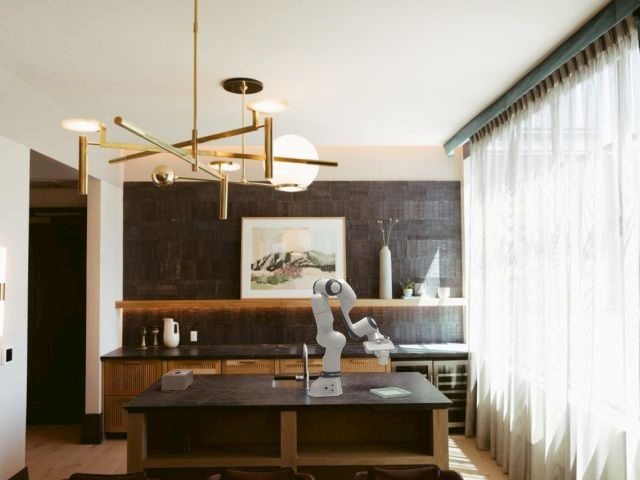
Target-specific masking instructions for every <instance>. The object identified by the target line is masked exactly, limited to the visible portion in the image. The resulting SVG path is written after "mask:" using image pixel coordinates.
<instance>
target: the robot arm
mask: <svg viewBox="0 0 640 480" xmlns="http://www.w3.org/2000/svg"><path fill="white" fill-rule="evenodd" d="M347 282H348V281H346V280H344V279H342V278H339V279H334V278H322V279H317V280H316V281H314V283H313V286H312V294H313V295H312V297H311V298H310V302H311V308H312V312H313V316H314V319H315V323H316V327H317V334H316V337H315V339H316V342H317V344H318V345H320V346H321V347H322V348H325V353H324V356H322V360H321V362H322V363H321V364H322V370H321V371H320V370H318V371H317V372H316V374H317V375H319V377H318V378H316V380H314V381H313V382H312V383H311V385H310V391H306V392H307V393H306V394H307V395H308V396H309V397H312V398H321V397H326V398H327V397H339V396H340V395H343V393H344V392H343V388H342V382H341V379H342V378H341V377H342V372H341V371H342V370H341V355H342V351H343V348H344V347H345V346H346V343H347V339H346V336H345V335H344V334H343V333H342V332H340V331H336V330H334V328H333V327H334V326H333V325H334V324H333V323H334V320H335V318H334V315H333V312H332V309H331V306H330V303H329V302H330V301H329V297H336V298H337V300H338V301H339V307H338V308H339V313H340V315H341V319H343V322H344V324H345V326H346V328H347V331H348V334H349V336H350V339H352V340H356V341H358V340H359V339H361V338H363V337H365V336H367V339H368V340H364V341H363V342H362V345H363V347H364V351H365V354H367V355H370V354H371V355H372V354H374V356H376V357H377V359H378V358H380V355H378V352H379V351H387V352H388V359H389V358H390V353H394V351H395V350H396V347H395V345H394V343H393V342H392V340H390V339H391V338H390V336H386V335H383V334H382V333H380V330H379V327H378V324H377V322H376V320H375V319H374V318H373V317H371V316H366V317H363V318H362V319H361V320H359V321H357V322H355V323H352V321H351V318H350V316H349V313H350V311H351V310H352V309H353V307H354V306H355V305H356V302H357V295H356V293H355V291H354V290H353V289H352V287H351V285H350V284H349V283H347Z"/></svg>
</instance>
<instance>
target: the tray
mask: <svg viewBox="0 0 640 480" xmlns="http://www.w3.org/2000/svg"><path fill="white" fill-rule="evenodd" d="M369 393H370V394H372V393H373V394H372V395H375V396H377V395H378V397H380V396H381V397H380V398H383V399H385V398H387V399H394V398H396V397H397V398H404V397H405V398H407V397H412V395H413V394H412V392H411V391H408V390H405V389H402V388H399V387H395V386H394V387H393V386H391V387H383V388H373V389H369ZM397 398H396V399H397Z"/></svg>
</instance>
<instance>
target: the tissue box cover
mask: <svg viewBox="0 0 640 480" xmlns="http://www.w3.org/2000/svg"><path fill="white" fill-rule="evenodd" d="M192 383H193V384H194V369H171V370H170V371H168V372H167V373H164V374H163V375H161V391H162V390H185V389H186V388H187V387H188V386H189V385H191V384H192ZM193 384H192V385H193ZM192 385H191V386H192ZM188 388H189V387H188ZM188 388H187V389H188ZM187 389H186V390H187ZM186 390H185V391H186Z"/></svg>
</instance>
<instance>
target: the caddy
mask: <svg viewBox="0 0 640 480" xmlns="http://www.w3.org/2000/svg"><path fill="white" fill-rule="evenodd" d="M377 354H378V355H380V358H377V359H378V360H377V363H378V364H377V365H380V366H386V365H389V358H388V352H387V351H379V352H378V353H377Z"/></svg>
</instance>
